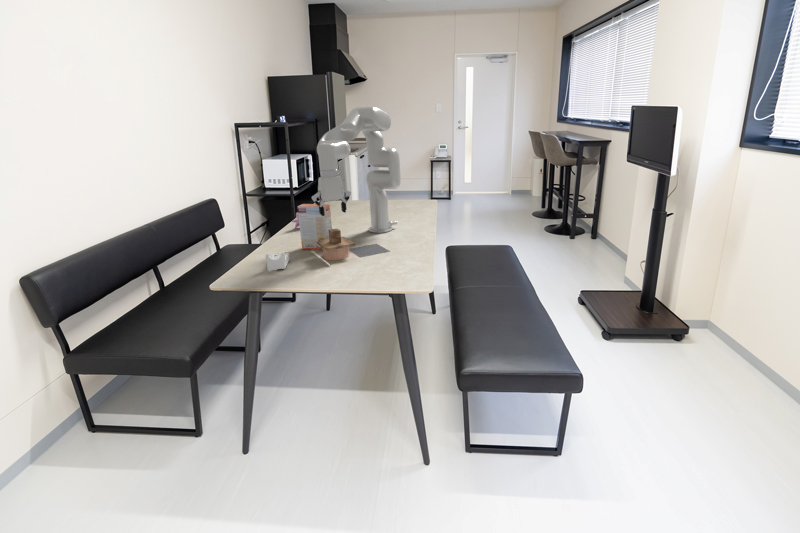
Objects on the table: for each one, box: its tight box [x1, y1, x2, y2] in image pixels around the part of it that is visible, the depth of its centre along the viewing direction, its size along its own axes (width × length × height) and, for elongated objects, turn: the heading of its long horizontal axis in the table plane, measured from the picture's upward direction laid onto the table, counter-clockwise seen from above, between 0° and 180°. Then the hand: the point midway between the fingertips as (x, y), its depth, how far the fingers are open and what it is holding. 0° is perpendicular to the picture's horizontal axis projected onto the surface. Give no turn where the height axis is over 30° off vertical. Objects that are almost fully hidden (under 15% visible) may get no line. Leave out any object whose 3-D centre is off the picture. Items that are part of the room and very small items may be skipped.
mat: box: [349, 243, 391, 258], centre depth 213 cm, size 15×15×1 cm
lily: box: [291, 211, 300, 229], centre depth 256 cm, size 12×12×10 cm
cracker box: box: [297, 203, 333, 251], centre depth 217 cm, size 14×6×21 cm, turn 71°
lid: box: [316, 228, 356, 251], centre depth 203 cm, size 13×13×6 cm
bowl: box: [322, 247, 350, 261], centre depth 205 cm, size 11×11×6 cm
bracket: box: [265, 251, 290, 271], centre depth 198 cm, size 13×7×8 cm, turn 5°
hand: (333, 213), depth 200 cm, fingers open, 9 cm apart
